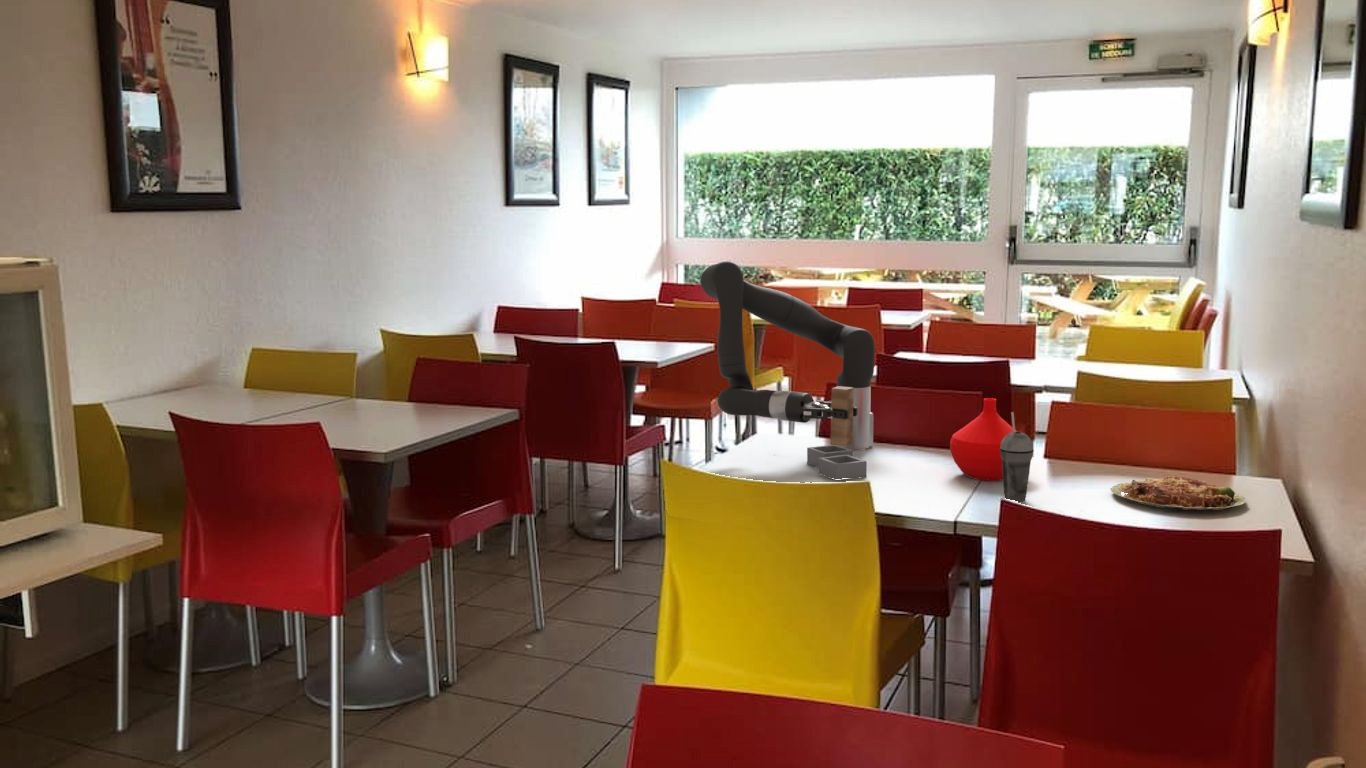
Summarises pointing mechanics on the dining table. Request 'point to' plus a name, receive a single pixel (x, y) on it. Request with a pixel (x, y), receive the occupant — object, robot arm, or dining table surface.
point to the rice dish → (1179, 494)
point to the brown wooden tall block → (842, 427)
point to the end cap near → (842, 467)
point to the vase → (981, 444)
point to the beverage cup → (1016, 464)
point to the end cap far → (825, 453)
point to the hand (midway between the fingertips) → (852, 413)
